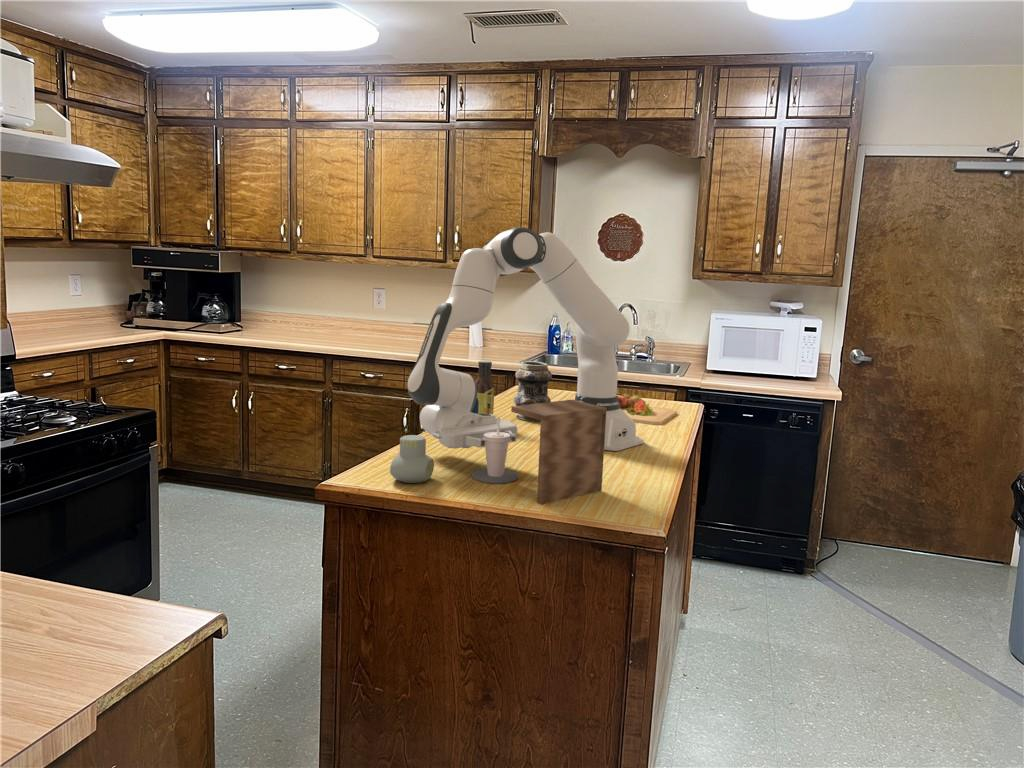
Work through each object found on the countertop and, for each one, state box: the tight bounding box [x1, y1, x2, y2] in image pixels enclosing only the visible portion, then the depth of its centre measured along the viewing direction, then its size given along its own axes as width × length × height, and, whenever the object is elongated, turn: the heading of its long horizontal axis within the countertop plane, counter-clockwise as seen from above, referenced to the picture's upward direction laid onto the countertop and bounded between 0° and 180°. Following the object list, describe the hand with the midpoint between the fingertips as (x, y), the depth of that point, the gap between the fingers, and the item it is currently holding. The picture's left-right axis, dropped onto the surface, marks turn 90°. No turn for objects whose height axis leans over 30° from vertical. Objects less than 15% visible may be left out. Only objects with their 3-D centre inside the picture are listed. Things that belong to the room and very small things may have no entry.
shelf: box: [510, 399, 607, 505], centre depth 176 cm, size 18×11×19 cm, turn 128°
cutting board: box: [617, 393, 678, 426], centre depth 268 cm, size 35×23×8 cm
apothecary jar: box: [513, 360, 553, 422], centre depth 253 cm, size 12×12×18 cm
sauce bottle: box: [474, 360, 495, 415], centre depth 238 cm, size 7×6×20 cm
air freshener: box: [389, 434, 435, 484], centre depth 180 cm, size 11×8×10 cm
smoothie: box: [483, 416, 510, 477], centre depth 185 cm, size 6×6×14 cm
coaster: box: [471, 467, 520, 485], centre depth 186 cm, size 11×11×1 cm
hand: (498, 441), depth 184 cm, fingers open, 8 cm apart
